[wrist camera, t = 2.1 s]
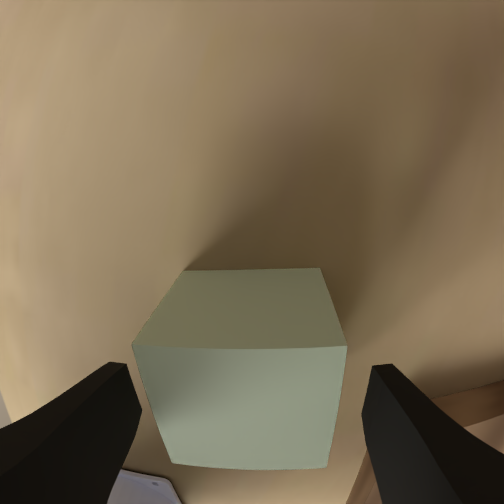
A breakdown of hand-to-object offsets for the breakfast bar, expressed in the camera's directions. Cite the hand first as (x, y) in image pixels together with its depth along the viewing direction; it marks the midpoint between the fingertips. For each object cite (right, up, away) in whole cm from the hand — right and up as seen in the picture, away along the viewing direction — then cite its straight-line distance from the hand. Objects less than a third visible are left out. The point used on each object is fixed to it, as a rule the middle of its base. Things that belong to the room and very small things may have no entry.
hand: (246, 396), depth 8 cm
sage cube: (0, +1, +4) cm, 4 cm away
